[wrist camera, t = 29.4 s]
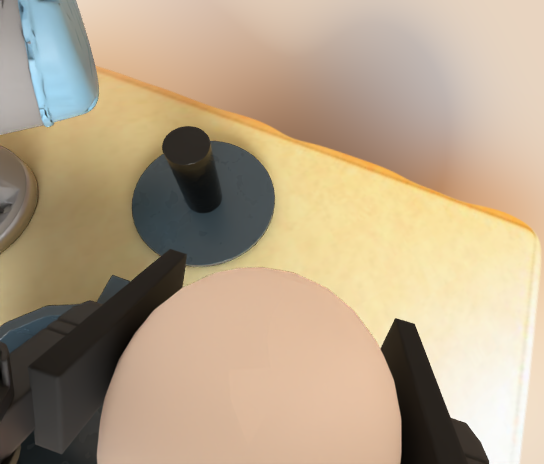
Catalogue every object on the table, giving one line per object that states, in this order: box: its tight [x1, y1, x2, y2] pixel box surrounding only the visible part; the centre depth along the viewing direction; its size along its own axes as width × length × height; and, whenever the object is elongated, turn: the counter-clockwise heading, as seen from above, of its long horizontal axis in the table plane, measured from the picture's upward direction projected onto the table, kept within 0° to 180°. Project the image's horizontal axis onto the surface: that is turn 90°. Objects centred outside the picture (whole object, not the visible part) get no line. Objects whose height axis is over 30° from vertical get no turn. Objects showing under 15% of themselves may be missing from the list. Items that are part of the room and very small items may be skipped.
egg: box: [97, 267, 401, 464], centre depth 10 cm, size 9×9×11 cm
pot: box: [0, 275, 131, 464], centre depth 24 cm, size 15×20×8 cm
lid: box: [132, 126, 275, 267], centre depth 31 cm, size 16×16×10 cm
